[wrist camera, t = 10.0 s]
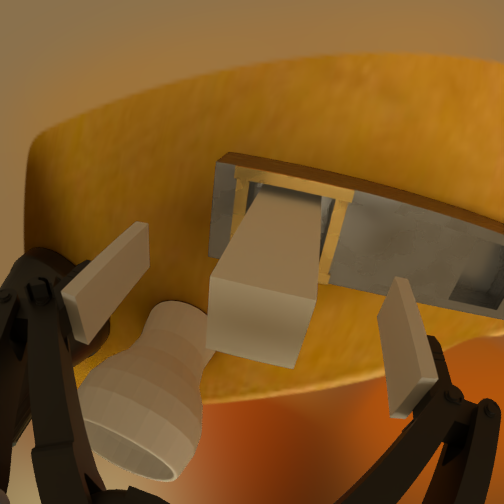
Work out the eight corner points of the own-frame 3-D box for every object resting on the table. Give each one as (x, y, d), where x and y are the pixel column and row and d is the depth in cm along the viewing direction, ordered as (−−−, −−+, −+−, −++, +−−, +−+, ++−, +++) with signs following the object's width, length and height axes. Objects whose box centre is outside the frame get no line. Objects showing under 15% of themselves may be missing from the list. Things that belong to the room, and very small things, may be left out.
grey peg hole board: (220, 237, 26) (207, 257, 23) (228, 152, 22) (215, 162, 20) (498, 300, 23) (510, 322, 20) (530, 234, 19) (548, 252, 17)
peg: (257, 231, 24) (205, 347, 14) (265, 181, 22) (210, 276, 12) (309, 243, 24) (293, 369, 14) (321, 193, 22) (316, 300, 12)
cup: (130, 279, 30) (39, 391, 17) (234, 298, 29) (172, 447, 16) (147, 352, 36) (87, 455, 23) (234, 373, 34) (192, 495, 21)
